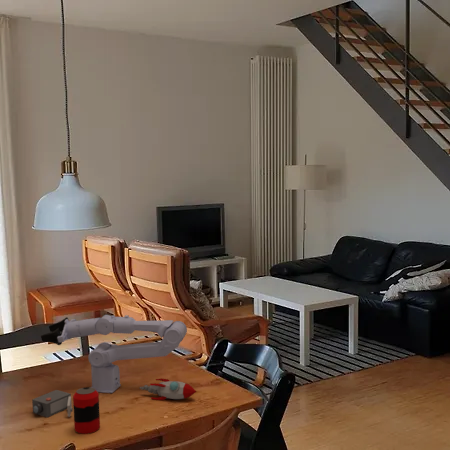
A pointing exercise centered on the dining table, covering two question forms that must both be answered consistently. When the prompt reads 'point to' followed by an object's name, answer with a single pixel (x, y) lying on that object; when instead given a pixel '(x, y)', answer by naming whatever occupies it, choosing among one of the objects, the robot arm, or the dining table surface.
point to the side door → (69, 406)
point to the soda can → (86, 410)
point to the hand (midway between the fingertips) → (45, 333)
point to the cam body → (50, 403)
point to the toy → (170, 389)
